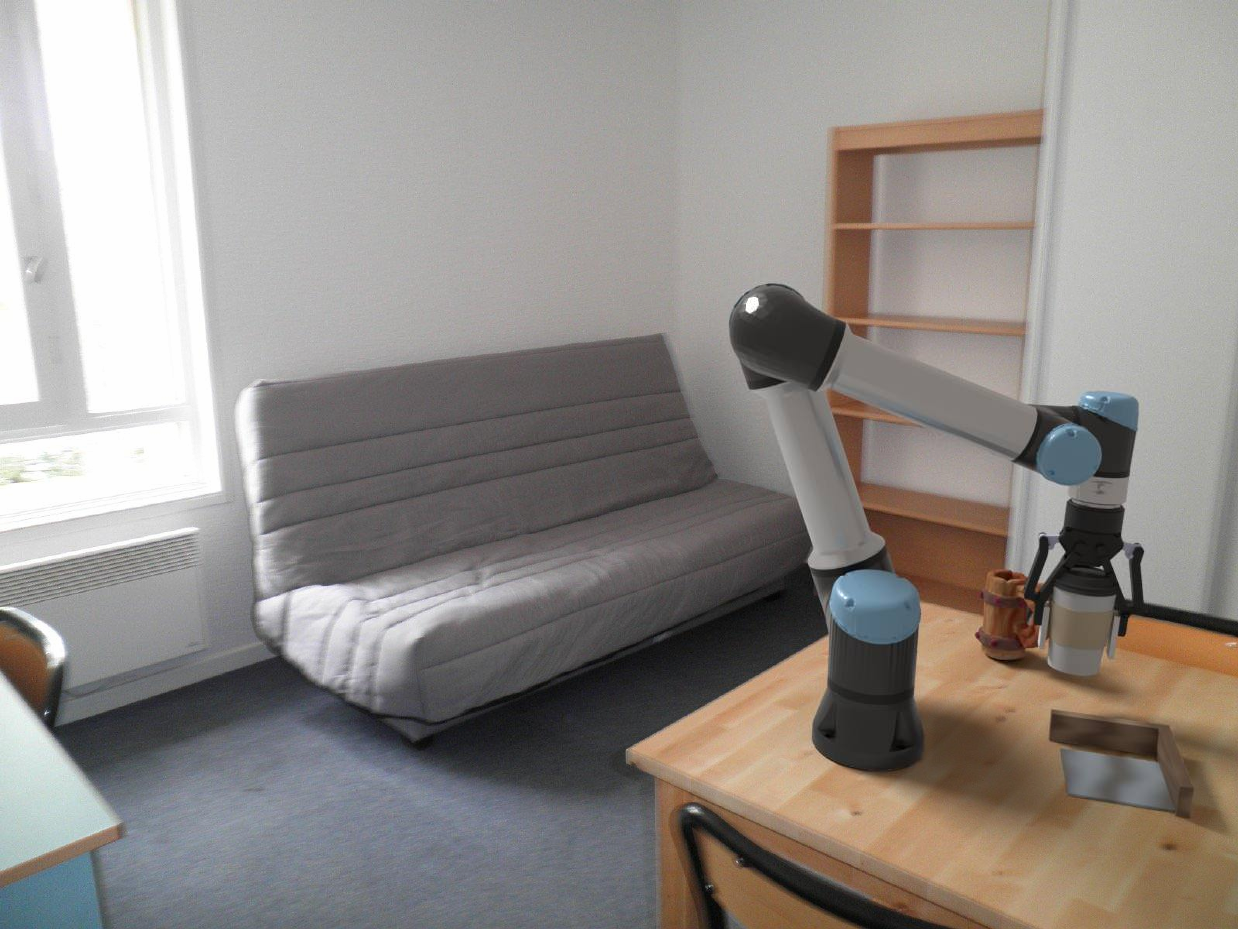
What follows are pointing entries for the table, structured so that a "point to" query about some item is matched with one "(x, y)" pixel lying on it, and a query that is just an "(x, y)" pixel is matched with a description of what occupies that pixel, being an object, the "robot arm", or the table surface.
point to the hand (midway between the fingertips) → (1075, 650)
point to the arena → (1123, 762)
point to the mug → (1007, 616)
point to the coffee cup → (1080, 619)
